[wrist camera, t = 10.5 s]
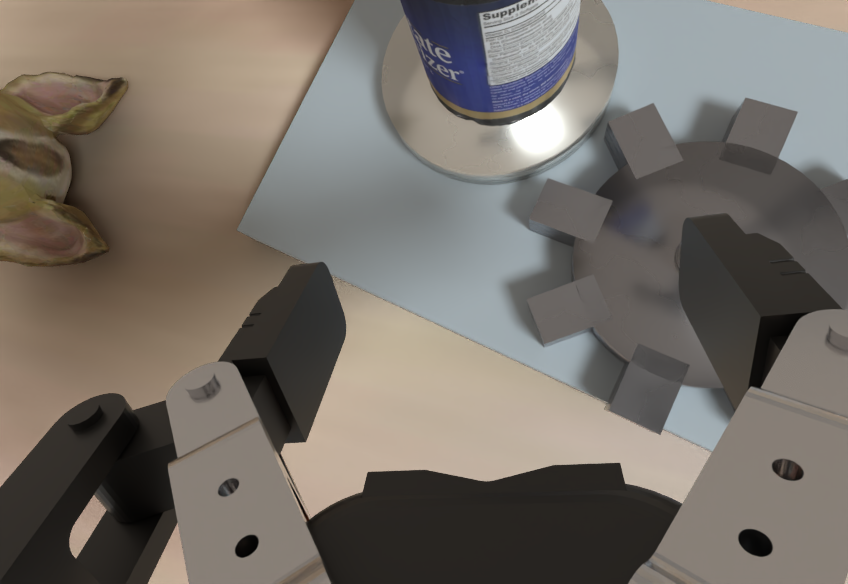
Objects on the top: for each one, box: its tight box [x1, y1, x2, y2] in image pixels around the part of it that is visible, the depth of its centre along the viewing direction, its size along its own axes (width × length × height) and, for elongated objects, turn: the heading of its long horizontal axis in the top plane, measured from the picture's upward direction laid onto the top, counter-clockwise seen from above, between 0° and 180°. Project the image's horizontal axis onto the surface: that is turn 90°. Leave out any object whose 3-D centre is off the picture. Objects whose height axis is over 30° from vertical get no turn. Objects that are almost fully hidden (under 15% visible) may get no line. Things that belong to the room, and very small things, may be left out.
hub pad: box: [382, 0, 619, 185], centre depth 23 cm, size 10×10×1 cm
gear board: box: [237, 0, 848, 452], centre depth 23 cm, size 24×17×2 cm
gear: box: [527, 98, 848, 434], centre depth 19 cm, size 13×13×3 cm
